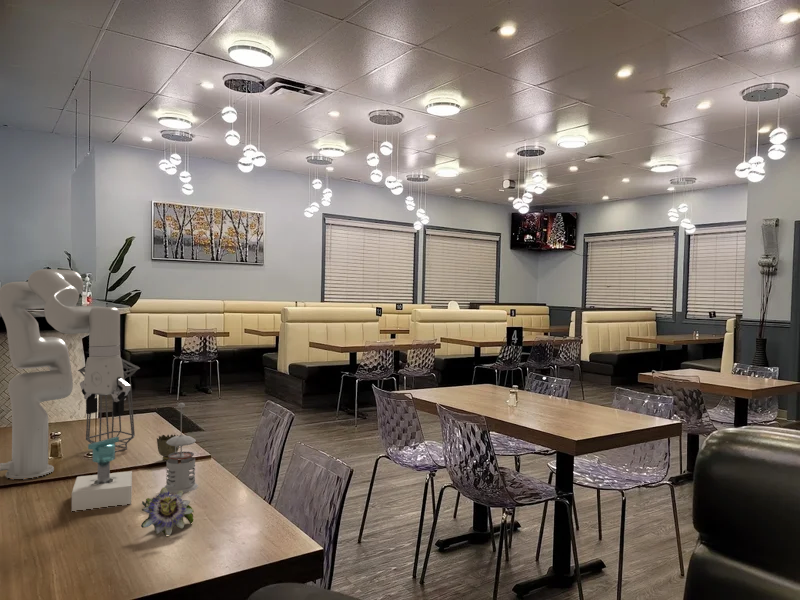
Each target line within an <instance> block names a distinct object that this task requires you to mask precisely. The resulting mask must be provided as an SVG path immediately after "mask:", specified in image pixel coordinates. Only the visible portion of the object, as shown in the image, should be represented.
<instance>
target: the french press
mask: <svg viewBox="0 0 800 600" xmlns="http://www.w3.org/2000/svg"><path fill="white" fill-rule="evenodd" d="M184 407H186V405H185V403H184V402H179V403H178V405H177V408H180V434H178V436H177V435H176V436H175V437H172V438H171V439H169V440H168V441H167V442H166V443H167V444H168V445H171V446H175V453H171V454H169V455H168V458H170V459H168V460H167V461H166V469H165V471H166V478H165V479H166V483H165V484H166V485H164V486H163V487H164V488H166V489H167V491H168V492H170V493H169V494H175V493H177V492H179V491H182V492H183V494H184V493H185V494H186V493H190V492H192V490H193V491H195V490H197V489H198V488H199V484H198V483H196V478H195V477H196V458H195V457H194V455H195V453H194V452H192V451H183V449H182V448H183V447H184V446H191V445H194V444H195V443H196V441H197V440H196V438H194V437H192V436H189V435H183V433H182V432H183V431H182V430H183V429H182V426H183V425H182V424H183V422H182V421H183V420H182V419H183V418H182V417H183V408H184ZM177 446H179V447H177ZM176 447H177V448H180V451H178V452H176ZM179 461H180V463H179ZM197 487H198V488H197ZM189 491H190V492H189Z"/></svg>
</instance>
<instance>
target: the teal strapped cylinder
mask: <svg viewBox="0 0 800 600" xmlns="http://www.w3.org/2000/svg"><path fill="white" fill-rule="evenodd" d="M119 438H120V437H119V436H118V437H117V436H115V437H114V436H113V438H112V437H109V439H107V438H106V439H103V440H102V439H101V441H99V440H98V441H95V443H92V442H91V443H92V444H91V443H88V444H87V448H88V450H92V460H91V461H92V462H93V463H96V464H97V475H98V480H97V484H106V483H110V473H111V472H110V471H111V462H112V461H114V460H115V459H116V452H115V451H116V447H115V445H116V443H120V442H119V440H120V439H119Z"/></svg>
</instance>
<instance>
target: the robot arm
mask: <svg viewBox="0 0 800 600" xmlns="http://www.w3.org/2000/svg"><path fill="white" fill-rule="evenodd" d="M83 289H84V282H83V278H82V276H81V275H80V274H79V273H78V272H77V271H75V270H72V269H56V268H54V269H51V268H42V269H38V270H34V271H33V272H31V274H30V275H29V276H28V279H27V281H11V282H7V283H5V284H3V285H2V286H1V287H0V315H1V317H2V320H3V322H4V324H5V328H6V334H7V344H8V350H9V358H10V361H11V364H12V366H13V367H14V368H16V369H21V370H24V369H25V370H26V369H28V370H29V369H37V368H38V369H39V368H47V367H48V369H49V370H43V371H42V370H41V371H33V372H30V371H29V372H25V373H21V374H17V375H14V377H12V378H11V379H10V381H9V383H8V388H7V389H8V396H9V399H10V405H11V406H10V407H11V419H12V420H11V429H12V430H11V460H10V461H9V460H8V461H7V462H0V471H6V473H5V478H6V479H8V478H13V479H12V480H14V479H23V480H25V479H24V478H32V479H34V478H33V477H37V478H39V477H38V476H42V477H44V476H43V475H45V476H47V475H46V474H48V475H50V474H52V473H53V472H54V471H55V468H54V466H53V465H52V464H49V414H48V412H47V410H46V409H44V407H43V406H42V405H41V403H44V402H47V401H56V400H63V399H66V398H67V397H69V396H70V395H71V394H72V393H73V387H74V382H73V373H72V366H71V359H70V354H69V351H70V350H69V348H68V345H67V343H66V342H65V340H63V339H62V338H60V337H57V336H56V337H55V336H45V337H42V336H41V334H40V327H39V322H38V321H37V319H36V318H35V317H34V316H33V315H32V314H31V313H30V312H29V311H27V309H35V310H36V309H44V310H43V311H44V316H45V320H46V322H47V323H48V324H49V325H50V326H51V327H52V328H53V329H54V330H56V331H58V332H59V333H62V334H66V335H73V334H88V335H89V337H88V338H89V339H88V340H89V342H88V344H89V345H88V347H89V348H88V354H89V355H88V356H89V357H87V359H86V363H85V366H86V367H85V366H84V367H85V372H84V374H85V376H83V377H84V378H83V379H84V380H82V381H80V382H79V386H80V388H81V392H82V394H83V398H84V400H85V413H86V415H87V414H91V415H92V414H94V413H98V397H97V396H98V395H97V394H100V395H107V396H108V395H109V396H110V395H111V397H112V399H113V398H114V402H113V401H112V403H113V416H114V417H115V418H116V417H119V416H124V414H125V401H126V399H127V398H128V394H129V395H130V389H132V384H131V385H130V383H128V382H127V381H126V380H125V381H124V374H123V371H124V368H123V365H122V360H121V359H122V357H121V313H120V309H118V308H117V307H115V306H110V307H109V306H98V305H96V306H95V305H92V306H91V305H90V306H88V305H87V306H86V305H85V306H84V305H81V306H79V305H78V306H77V304H78V303H79V302H78V301H79V299H80V294H81V293H82V292H83ZM100 395H99V396H100ZM118 395H119V396H118ZM51 472H52V473H51ZM49 473H50V474H49Z"/></svg>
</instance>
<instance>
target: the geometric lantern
mask: <svg viewBox="0 0 800 600" xmlns="http://www.w3.org/2000/svg"><path fill="white" fill-rule="evenodd" d="M121 360H122V365H123V369H126V371H124V370H123V374H124V381H126V380H125V379H126V378H128V377H129V384H130V385H131V386H132V382H131V381H132V379H131V377H132V376H133V374H135V373H136V372H137V371H138V370H140V369H141V367H139V366H138V365H135V364H133V363H132V362H129V361H127V360H125V359H123V358H121ZM85 367H86V365H84V366H83V367H82V368H80V369H78V370H77V372H79V373H81V375H82V376H83V377H84V376H85ZM117 395H118V394H117ZM96 396H99V427H98V429H99V434H96V435H91V436H90V433H91V419H92V413H91V414H86V424H85V425H86V428H85V429H86V431H85V433H86V434H85V441H87V442H88V443H89V444H92V443H95V442H96V441H94V440H92V438H97V437H98V442H99V441H102V436H104V435H106V436H107V437H106V439H110V434H111V438H113V437H114V435H113V434H114V433H118V434H117V435H116V437H119V435H120V434H126V435H128V436H130V437H127V438H122V439H119V442H118V443H120V444H115V448H116V447H117V448H118V447H119V448H122V449H118V450H115V453H118V452H121V451H125V450H127V449H128V443H130V441H132V439H134V438H135V437H136V435H135V421H134V420H135V418H134V410H133V409H134V408H133V407H134V406H133V405H134V404H133V393H132V388H130V391H129V394H128V396H127V401H128V403H127V404H128V411H129V412H128V413H129V421H130V432H125V431H122V422H121V421H122V419H121V416H122V415H120V416H118V426H119V430H114V425H115V424H114V422H115V421H114V420H115V418H114V416H113V402H115V400H114V398H113V397H112V405H111V406H112V410H111V411H112V412H111V413H112V414H111V415H112V416H111V417H112V418H111V431H109V430H110V429H109V415H108V414H109V412H108V395H100V394H97V395H96ZM103 396H104V398H105V417H106V418H105V420H106V432H104V433H102V408H103V407H102V405H103V404H102V402H103V398H102V397H103ZM118 396H119V395H118ZM124 445H125V446H124ZM117 451H118V452H117Z"/></svg>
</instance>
